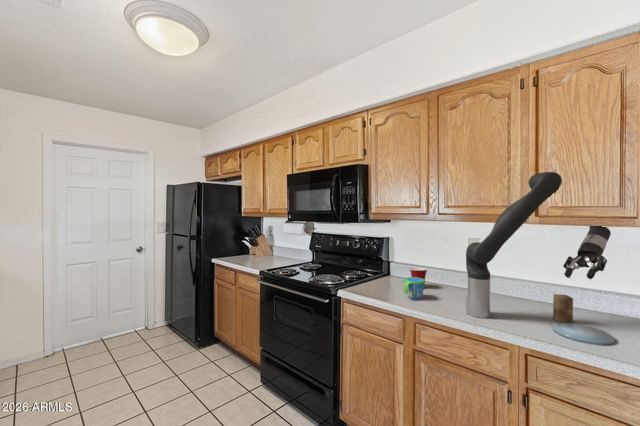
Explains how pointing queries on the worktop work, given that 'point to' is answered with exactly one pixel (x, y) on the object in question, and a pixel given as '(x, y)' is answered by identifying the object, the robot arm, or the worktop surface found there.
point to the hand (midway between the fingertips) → (577, 277)
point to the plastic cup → (418, 272)
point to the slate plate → (583, 333)
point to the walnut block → (563, 308)
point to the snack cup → (414, 287)
